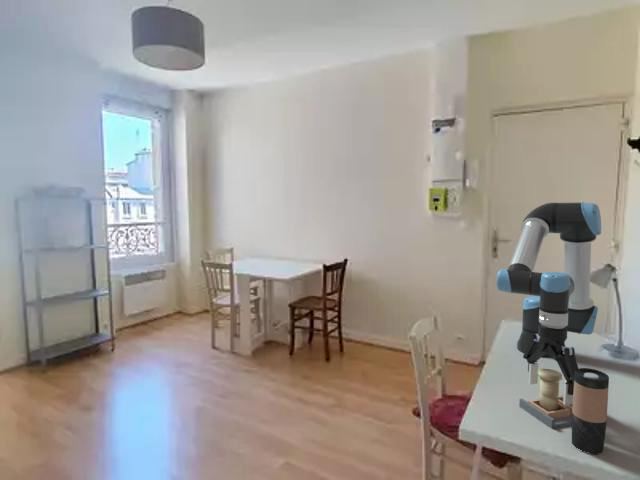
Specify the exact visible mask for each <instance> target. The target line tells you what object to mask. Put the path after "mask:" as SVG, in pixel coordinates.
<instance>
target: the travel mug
mask: <svg viewBox="0 0 640 480" xmlns="http://www.w3.org/2000/svg"><path fill="white" fill-rule="evenodd" d="M609 384H610V376H609V375H608V374H607V373H605V372H603V371H601V370H598V369H595V368H589V367H588V368H587V367H580V369H579V370H578V371H575V378H574V392H573V407H572V425H571V445H572V446H573V445H574V446H575V447H576V448H575V447H574V446H573V447H574V448H575V449H577V448H578V449H580V450H582V451H581V452H583V451H585V452H589V453H593V454H592V455H599V454H598V453H601V454H602V453H604V447H605V439H606V430H607V429H606V428H607V422H608V421H607V420H608V407H609V406H608V401H609V387H610V386H609ZM578 449H577V450H578ZM580 450H579V451H580ZM585 452H584V453H585ZM589 453H588V454H589Z"/></svg>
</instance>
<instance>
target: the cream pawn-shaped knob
mask: <svg viewBox="0 0 640 480" xmlns="http://www.w3.org/2000/svg"><path fill="white" fill-rule="evenodd" d="M538 378H539V398H538V399H539V406H540V407H541V408H543V409H545V410H546V411H548V412H551V411H557V410H558V396H560V395H559V392H560V381H561V380H562V379H563V373H562V372H560V371H557V370H555V369H550V368H540V369H539V368H538Z"/></svg>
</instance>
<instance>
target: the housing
mask: <svg viewBox="0 0 640 480" xmlns="http://www.w3.org/2000/svg"><path fill="white" fill-rule="evenodd" d="M578 368H579V369H580V368H581V367H579V366H578ZM570 379H571V378H570ZM564 382H567V381H566V379H565V378H564ZM518 404H519V406H518V407H520V408H521V409H522V410H523V411H525V412H526V413H529V414H530V415H531V416H533V417H534V418H536V419H537V420H538V421H540V422H541V423H543V424H545V425H546V426H547V427H549V428H550V429H557V428H562V427H563V428H564V427H568V426H572V407H573V404H570V405H564V404H563V395H559V396H558V410H557V411H551V412H548V411H546V410H545V409H543V408H541V407H540V406H539V398H538V399H537V398H536V399H532V400H528V401H527V400H525V399H524V398H519V402H518Z"/></svg>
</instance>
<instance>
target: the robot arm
mask: <svg viewBox="0 0 640 480" xmlns="http://www.w3.org/2000/svg"><path fill="white" fill-rule="evenodd" d="M520 230H521V233H520V236H519V239H518V240H517V244H516V246H515V249H514V252H513V254H512V257H511V260H510V263H509V265H508V268H504V269H499V270H498V272H497V274H496V279H495V280H496V282H495V283H496V288H497V289H498V291H500V292H504V293H510V294H518V295H528V296H527V297H526V298H525V299H524V300H523V304H522V305H523V306H522V325H521V332H520V335H519V339H518V340H517V343H516V348H517V350H518V351H520V352H521V353H523V356H522V357H523V359H524V360H526V362H527V372H528V382H527V383H528V384H529V385H537V384H538V380H539V379H538V378H539V376H538V370H539V363H538V360H540V359H541V358H542V357H545V358H546V357H551V358H553V360H554V361H555V362H557V364H558V367H559V368H560V371H561V374H562V376H563V377H564V380H565V379H566V381H567V382H565V381H564V383H563V395H562V396H563V404H564V405H570V404H573V392H574V378H575V371H578V370H579V368H578V367H579V365H578V362H577V359H576V354H575V353H576V352H575V348H574V347H569V346H568V347H567V346H566V344H565V342H566V341H567V339H568V332H569V333H574V334H579V335H591V334H593V333H594V329H595V325H596V320H597V315H598V311H599V307H598V305H597V306H596V305H595V303H594V300H593V299H592V298H591V297H590V289H591V262H592V261H591V257H592V256H591V254H592V243H593V242H595V241H596V239H597V236H600V235H601V234H602V218H601V211H600V208H599V205H597V204H596V203H594V202H547V203H545V204H541V205H539V206H537V207H536V208H534V209H532V210H531V211H530V212H529V213H528V214H527V215H526V216H525V217H524V218H523V220H522V223H521V225H520ZM548 234H559V238H560V239H559V240H561V241H562V242H563V243H564V252H563V253H564V259H563V260H564V261H563V262H564V264H563V266H564V267H563V269H564V272H559V271H545V272H536V271H534V269H535V265H536V262H537V259H538V256H539V252H540V250H541V247H542V245H543V240H544V239H545V238H546V237H547V236H548ZM570 378H571V379H570Z"/></svg>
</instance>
